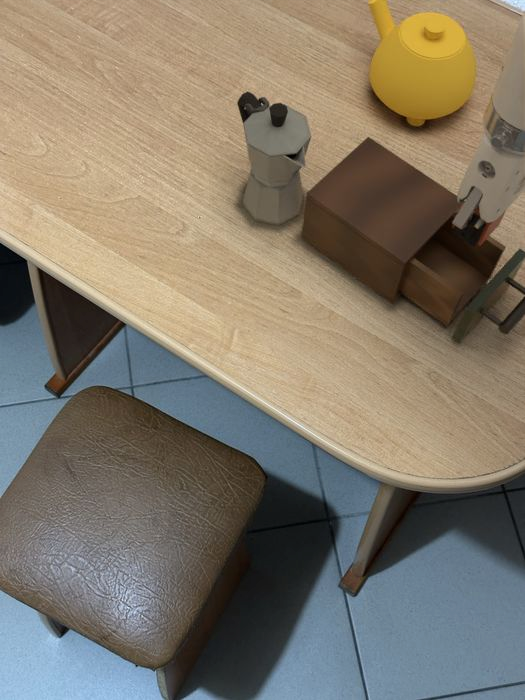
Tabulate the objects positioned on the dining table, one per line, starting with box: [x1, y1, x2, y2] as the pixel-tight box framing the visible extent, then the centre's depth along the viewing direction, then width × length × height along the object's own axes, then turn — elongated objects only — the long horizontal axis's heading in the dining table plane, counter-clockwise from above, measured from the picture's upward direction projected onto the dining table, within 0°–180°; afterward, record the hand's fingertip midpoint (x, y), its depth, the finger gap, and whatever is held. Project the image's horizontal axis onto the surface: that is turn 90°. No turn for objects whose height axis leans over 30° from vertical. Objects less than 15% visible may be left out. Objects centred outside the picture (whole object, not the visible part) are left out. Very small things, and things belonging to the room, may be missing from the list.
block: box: [452, 203, 508, 246], centre depth 97 cm, size 4×4×4 cm
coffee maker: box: [236, 91, 312, 227], centre depth 111 cm, size 15×9×18 cm, turn 33°
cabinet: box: [301, 136, 465, 305], centre depth 111 cm, size 16×13×10 cm
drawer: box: [399, 213, 525, 344], centre depth 107 cm, size 19×12×8 cm, turn 49°
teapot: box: [367, 0, 477, 127], centre depth 123 cm, size 20×16×14 cm
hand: (476, 224), depth 98 cm, fingers closed on block, 4 cm apart
